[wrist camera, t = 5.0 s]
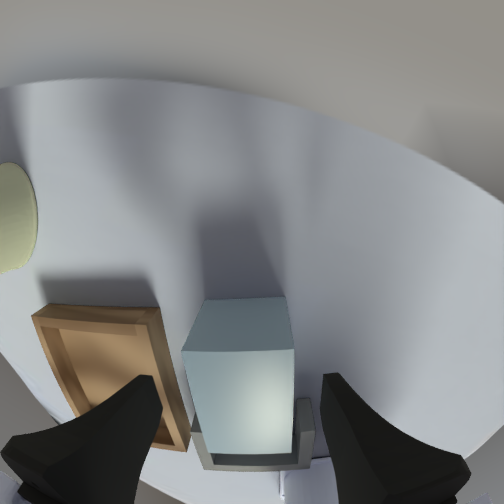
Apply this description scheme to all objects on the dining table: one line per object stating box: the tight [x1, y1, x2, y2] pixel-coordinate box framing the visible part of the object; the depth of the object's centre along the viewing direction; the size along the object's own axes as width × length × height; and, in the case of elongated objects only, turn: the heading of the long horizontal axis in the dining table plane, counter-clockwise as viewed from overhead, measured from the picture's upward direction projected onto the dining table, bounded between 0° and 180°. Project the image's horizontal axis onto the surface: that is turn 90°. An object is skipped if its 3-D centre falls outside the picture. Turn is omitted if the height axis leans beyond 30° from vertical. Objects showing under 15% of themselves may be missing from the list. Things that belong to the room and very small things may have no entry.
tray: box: [31, 304, 191, 452], centre depth 18 cm, size 13×11×2 cm
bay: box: [190, 398, 316, 472], centre depth 18 cm, size 6×9×4 cm, turn 94°
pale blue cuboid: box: [181, 297, 294, 454], centre depth 16 cm, size 8×5×6 cm, turn 4°
